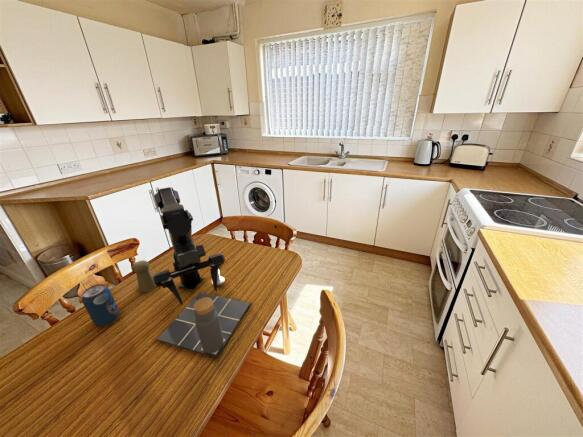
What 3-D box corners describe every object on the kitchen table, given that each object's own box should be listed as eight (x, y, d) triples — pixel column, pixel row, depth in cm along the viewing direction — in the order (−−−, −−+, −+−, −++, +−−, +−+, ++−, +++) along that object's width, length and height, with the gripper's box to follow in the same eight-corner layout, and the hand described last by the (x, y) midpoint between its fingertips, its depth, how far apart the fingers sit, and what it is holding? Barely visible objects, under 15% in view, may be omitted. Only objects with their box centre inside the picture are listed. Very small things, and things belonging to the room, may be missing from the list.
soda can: (121, 320, 76) (108, 291, 71) (94, 332, 72) (78, 302, 67) (119, 307, 81) (107, 279, 76) (94, 317, 78) (79, 289, 72)
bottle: (222, 351, 64) (213, 310, 58) (200, 355, 64) (188, 314, 57) (224, 333, 70) (216, 294, 63) (204, 336, 69) (193, 297, 63)
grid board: (157, 340, 69) (156, 339, 69) (200, 293, 86) (199, 292, 86) (217, 358, 63) (216, 356, 63) (250, 304, 81) (249, 302, 80)
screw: (212, 282, 92) (225, 279, 93) (212, 290, 88) (226, 287, 89) (206, 254, 86) (219, 251, 88) (206, 261, 82) (220, 258, 83)
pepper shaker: (135, 289, 89) (125, 265, 85) (149, 280, 94) (141, 256, 90) (146, 293, 87) (137, 269, 82) (160, 283, 92) (152, 259, 88)
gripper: (143, 248, 59) (159, 310, 55) (218, 228, 68) (236, 280, 64) (150, 259, 68) (164, 313, 65) (214, 241, 77) (230, 287, 73)
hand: (199, 298), depth 66 cm, fingers open, 9 cm apart
